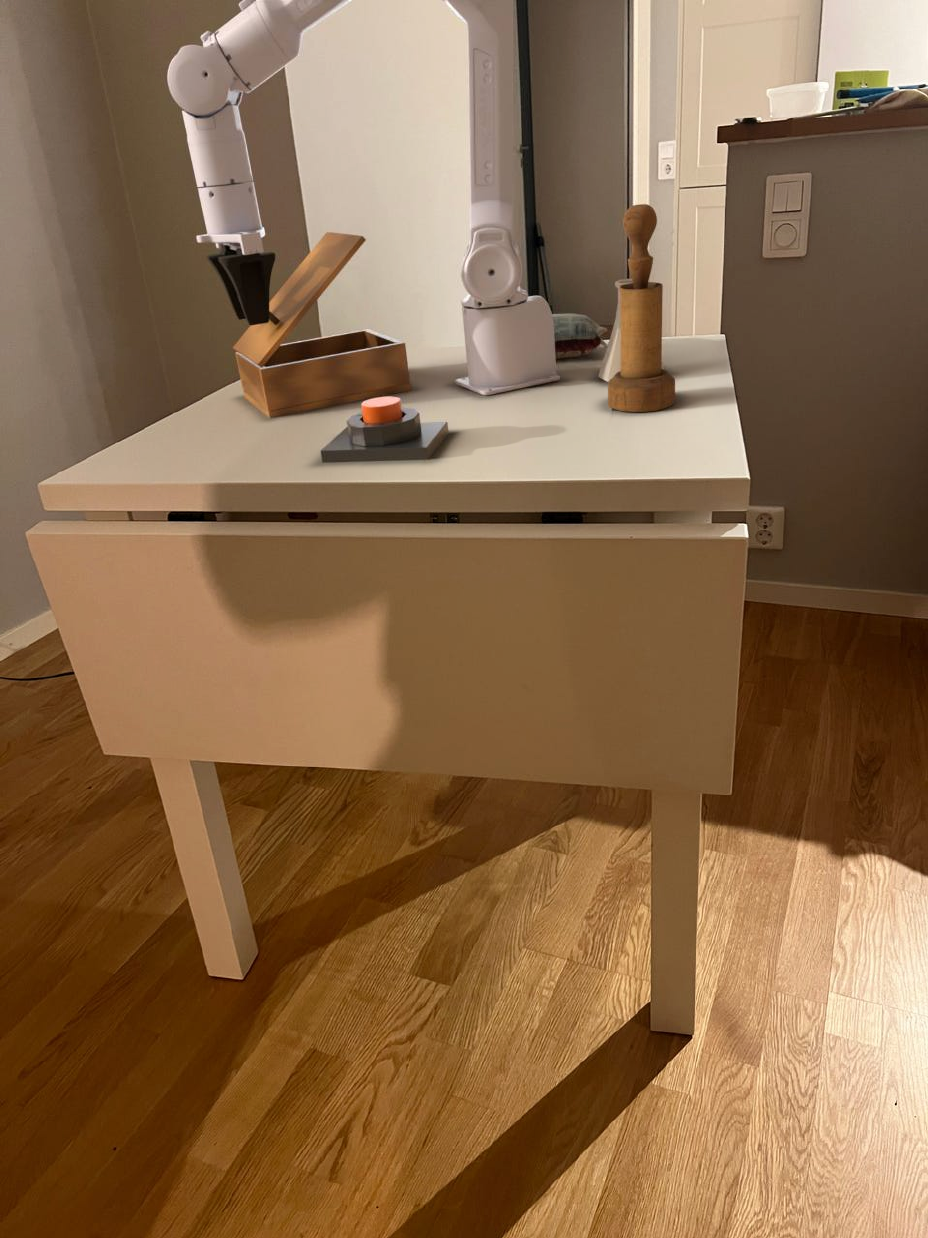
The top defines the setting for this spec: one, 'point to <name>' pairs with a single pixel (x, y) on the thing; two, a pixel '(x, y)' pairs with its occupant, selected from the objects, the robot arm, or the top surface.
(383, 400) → the button
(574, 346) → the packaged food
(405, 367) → the wooden box
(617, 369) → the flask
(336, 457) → the switch block
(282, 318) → the lid
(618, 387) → the mortar and pestle
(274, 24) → the robot arm
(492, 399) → the top surface
